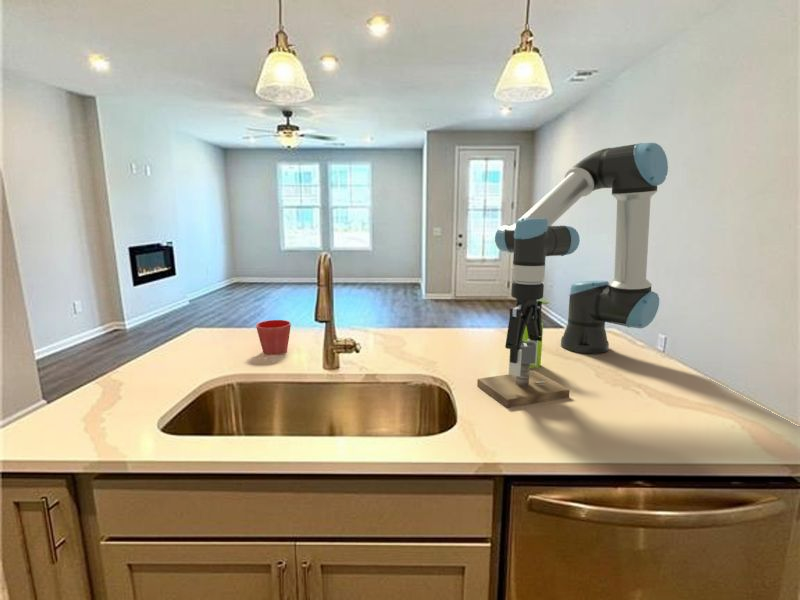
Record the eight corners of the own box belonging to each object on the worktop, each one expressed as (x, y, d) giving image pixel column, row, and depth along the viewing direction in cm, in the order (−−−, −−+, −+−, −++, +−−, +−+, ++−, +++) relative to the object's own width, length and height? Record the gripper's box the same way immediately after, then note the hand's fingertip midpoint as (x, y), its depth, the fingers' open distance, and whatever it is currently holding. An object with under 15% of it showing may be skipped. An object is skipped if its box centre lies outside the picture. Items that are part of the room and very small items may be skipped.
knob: (511, 356, 111) (512, 339, 110) (532, 357, 110) (533, 339, 109) (514, 364, 105) (515, 345, 104) (536, 365, 104) (537, 346, 103)
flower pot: (284, 357, 136) (282, 328, 134) (252, 355, 138) (250, 326, 136) (297, 347, 146) (295, 320, 144) (267, 346, 148) (265, 319, 146)
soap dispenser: (545, 369, 125) (549, 302, 121) (521, 367, 127) (524, 301, 123) (542, 362, 131) (546, 299, 127) (519, 361, 132) (523, 298, 128)
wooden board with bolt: (534, 377, 118) (535, 350, 117) (569, 397, 105) (571, 366, 104) (477, 385, 112) (478, 357, 111) (507, 407, 100) (508, 375, 98)
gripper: (531, 276, 114) (526, 355, 118) (492, 285, 98) (488, 377, 102) (559, 278, 109) (553, 361, 114) (523, 289, 93) (518, 385, 97)
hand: (522, 369), depth 108 cm, fingers open, 9 cm apart
